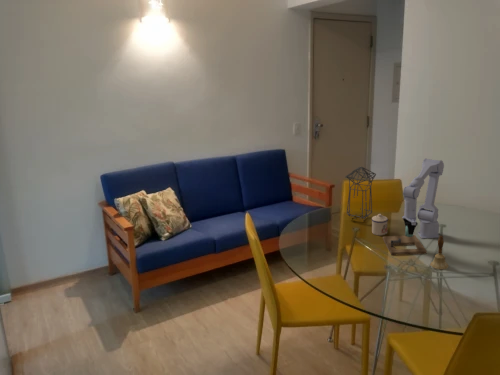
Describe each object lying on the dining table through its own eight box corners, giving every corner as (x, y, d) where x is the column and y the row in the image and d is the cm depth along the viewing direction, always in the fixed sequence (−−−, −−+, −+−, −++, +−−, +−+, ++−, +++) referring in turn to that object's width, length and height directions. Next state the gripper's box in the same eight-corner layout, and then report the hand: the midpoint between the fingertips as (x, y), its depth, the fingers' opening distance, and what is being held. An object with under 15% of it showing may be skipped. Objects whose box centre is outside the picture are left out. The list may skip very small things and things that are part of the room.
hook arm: (400, 248, 233) (400, 238, 231) (400, 249, 232) (401, 239, 230) (390, 248, 233) (390, 238, 232) (391, 249, 232) (391, 239, 230)
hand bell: (427, 262, 216) (428, 233, 211) (443, 260, 216) (445, 231, 211) (435, 270, 208) (437, 240, 203) (451, 268, 209) (454, 238, 204)
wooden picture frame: (415, 237, 244) (415, 235, 243) (426, 253, 225) (426, 251, 224) (382, 238, 245) (382, 236, 245) (391, 255, 226) (391, 252, 226)
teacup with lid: (384, 237, 247) (384, 218, 244) (369, 234, 253) (369, 215, 249) (391, 229, 256) (392, 211, 253) (376, 226, 262) (377, 208, 258)
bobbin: (404, 233, 232) (404, 225, 230) (411, 233, 231) (412, 225, 230) (406, 237, 228) (406, 228, 226) (414, 236, 228) (414, 228, 226)
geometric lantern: (352, 213, 285) (353, 162, 274) (375, 217, 276) (377, 165, 265) (342, 221, 273) (343, 168, 262) (366, 226, 264) (368, 171, 253)
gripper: (398, 204, 232) (398, 227, 236) (406, 214, 218) (405, 238, 223) (412, 203, 231) (411, 226, 236) (420, 213, 218) (419, 237, 222)
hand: (409, 232), depth 229 cm, fingers closed on bobbin, 4 cm apart
